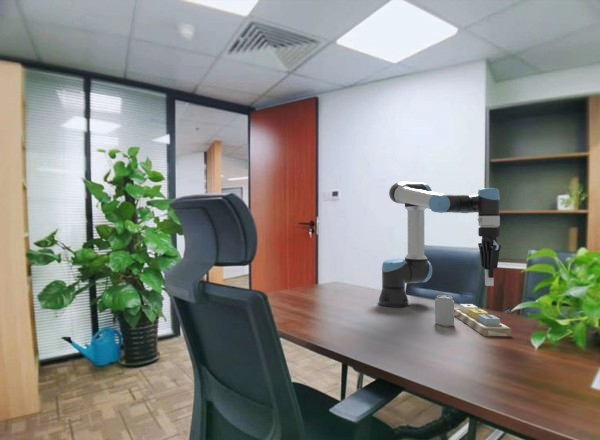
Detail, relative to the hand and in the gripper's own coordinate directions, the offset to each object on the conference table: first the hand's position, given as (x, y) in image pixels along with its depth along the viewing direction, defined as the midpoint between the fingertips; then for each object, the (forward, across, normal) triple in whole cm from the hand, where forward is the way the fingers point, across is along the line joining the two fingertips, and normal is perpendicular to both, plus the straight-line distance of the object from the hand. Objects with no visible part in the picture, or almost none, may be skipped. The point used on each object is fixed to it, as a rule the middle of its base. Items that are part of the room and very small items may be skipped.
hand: (489, 285), depth 134 cm
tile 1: (+15, -18, 0) cm, 23 cm away
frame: (+18, -9, 0) cm, 20 cm away
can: (+18, -8, -15) cm, 25 cm away
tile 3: (+16, 0, 0) cm, 16 cm away
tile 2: (+15, -9, 0) cm, 18 cm away
